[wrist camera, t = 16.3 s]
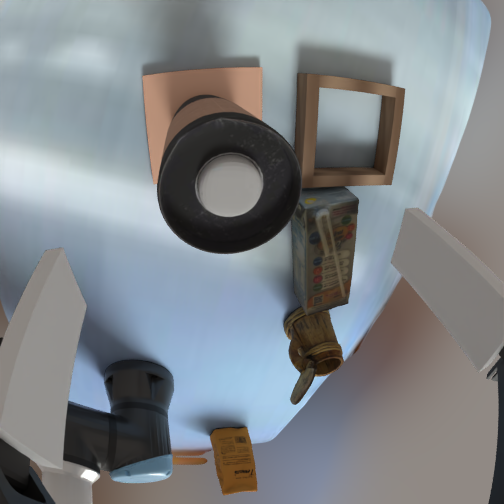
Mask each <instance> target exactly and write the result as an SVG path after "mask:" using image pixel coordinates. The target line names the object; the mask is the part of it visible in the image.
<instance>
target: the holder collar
mask: <svg viewBox="0 0 504 504" xmlns="http://www.w3.org/2000/svg"><path fill="white" fill-rule="evenodd" d="M319 87H322V88H333V89H342V90H351V91H358V92H365V93H372V94H378V95H382V105H381V115H380V124H379V133H378V141H377V148H376V155H375V162H374V168H363V167H345V168H314V162H315V150H316V136H317V120H318V102H319ZM404 96H405V89H404V88H400V87H395V86H390V85H385V84H380V83H375V82H369V81H363V80H357V79H350V78H343V77H335V76H326V75H317V74H304V73H298V74H297V107H296V131H295V154H296V156H297V158H298V161H299V164H300V167H301V173H302V188H314V187H334V186H363V185H392V180H393V174H394V169H395V163H396V157H397V151H398V145H399V138H400V131H401V123H402V115H403V106H404Z"/></svg>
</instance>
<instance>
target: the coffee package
mask: <svg viewBox="0 0 504 504" xmlns="http://www.w3.org/2000/svg"><path fill="white" fill-rule="evenodd" d="M210 440H211V444H212V447H213V450H214V458H215V465H216V471H217V476H218V479H219V482H220V485H221V488H222V493H223V495H228V494H233V493H238V492H242V491H243V492H244V491H257V479H256V472H255V462H254V457H253V451H252V444H251V440H250V437H249V433H248V429H247V427H244V428H238V429H236V428H231V427H229V428H222V429H215V430H214V431H213V433H212V434H211V436H210Z"/></svg>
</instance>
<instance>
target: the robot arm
mask: <svg viewBox="0 0 504 504" xmlns="http://www.w3.org/2000/svg"><path fill="white" fill-rule="evenodd" d="M391 264H392V265H393V266H394V267H395V268H396V269H397V270H398V271H399V273H400V274H401V275H402V276H403V277H404V278H405V279H406V280H407V281H408V283H409V284H410V285H411V286H412V287H413V289H415V291H416V292H417V293H418V295H419V296H420V297H421V298H422V299H423V300H424V302H425V303H426V304H427V305H428V307H429V308H430V309H431V310H432V311H433V313H434V314H435V315H436V316H437V318H438V319H439V320H440V321H441V323H442V324H443V325H444V326H445V328H446V329H447V330H448V332H449V333H450V334H451V336H452V337H453V338H454V340H455V341H456V342H457V343H458V345H459V346H460V348H461V349H462V350H463V352H464V353H465V354H466V356H467V357H468V359H469V360H470V361H471V363H472V364H473V366H474V367H475V369H476V370H477V371H478V372H480V371H482V370H483V369H484V368H486V367H487V366H489V365H490V364H491V362H492V361H493V360H494V358H495V357H496V356H497V355H498V354H499V355H500V356H501V358H500V359H499V360H498V361H497V363H496V364H495V365H494V366H493V367H492V369H491V370H490V371H489V372H488V374H487V379H489V378H490V377H491V376H492V375H493V374H494V373H495V372H497V373H496V374H495V375H494V376H493V377H492V380H494V381H498V393H499V394H498V395H499V418H498V419H499V420H498V440H497V452H496V462H495V470H494V477H493V483H492V489H491V494H490V499H489V504H504V283H503V281H501V279H500V278H498V276H497V275H495V273H493V272H492V271H491V270H490V269H489V268H488V267H487V266H486V265H485V264H484V263H483V262H482V261H481V260H480V259H479V258H478V257H476V256H475V255H474V254H473V253H472V252H471V251H470V250H469V249H468V248H467V247H465V246H464V245H463V244H462V243H461V242H460V241H458V240H457V239H456V238H455V237H454V236H453V235H451V234H450V233H449V232H448V231H447V230H445V229H444V228H443V227H442V226H441V225H439V224H438V223H437V222H436V221H434V220H433V219H432V218H431V217H429V216H428V215H427V214H425V213H424V212H423V211H422V210H420V209H419V208H408V209H405V213H404V217H403V221H402V225H401V228H400V232H399V236H398V239H397V243H396V246H395V250H394V253H393V257H392V260H391ZM86 308H87V305H86V302H85V300H84V298H83V296H82V294H81V291H80V289H79V287H78V284H77V282H76V280H75V277H74V275H73V272H72V270H71V267H70V265H69V262H68V260H67V257H66V254H65V252H64V249H63V248H57V249H51V250H46V251H45V252H44V254H43V256H42V258H41V260H40V261H39V263H38V265H37V267H36V269H35V271H34V272H33V274H32V276H31V278H30V280H29V282H28V284H27V286H26V288H25V290H24V292H23V294H22V296H21V299H20V301H19V303H18V305H17V307H16V309H15V312H14V314H13V316H12V319H11V321H10V323H9V326H8V328H7V331H6V333H5V336H4V338H0V504H93V503H92V484H93V483H94V482H95V481H96V480H97V479H99V478H100V470H104V471H109V472H110V476H111V478H112V479H113V480H115V481H119V482H125V483H146V482H154V481H160V480H163V479H166V478H168V477H169V476H170V475H171V473H172V457H173V455H172V452H171V444H170V435H169V425H168V409H169V405H170V402H171V399H172V395H173V392H174V380H173V376H172V375H171V373H170V372H169V371H167V370H166V369H165V368H163V367H161V366H159V365H157V364H154V363H150V362H146V361H139V360H125V361H120V362H116V363H114V364H112V365H110V366H109V367H108V368H107V369H106V371H105V378H104V384H105V388H106V392H107V395H108V399H109V402H110V406H111V414H110V413H107V412H103V411H100V410H96V409H93V408H90V407H86V406H83V405H80V404H77V403H74V402H71V401H68V398H69V391H70V385H71V378H72V372H73V367H74V361H75V356H76V351H77V346H78V342H79V337H80V333H81V328H82V324H83V320H84V316H85V312H86ZM30 459H31V460H33V461H35V462H36V464H37V465H38V466H39V467H40V469H41V471H42V482H41V480H40V479H39V477H38V475H37V474H36V472H35V471H34V470H33V468H32V467H31V466H29V465H30Z"/></svg>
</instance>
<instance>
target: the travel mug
mask: <svg viewBox="0 0 504 504" xmlns="http://www.w3.org/2000/svg"><path fill="white" fill-rule="evenodd" d="M301 191H302V173H301V167H300V164H299V161H298V158H297V156H296V154H295V152H294V150H293V149H292V147H291V146H290V144H289V143H288V142H287V141H286V140H285V138H284V137H283V136H281V135H280V134H279V133H278V132H277V131H276V130H274V129H273V128H271V127H270V126H268V125H267V124H266V123H264V122H263V121H261V120H260V119H258V118H257V117H255V116H254V115H252V114H251V113H249V112H248V111H246V110H245V109H243V108H242V107H240V106H239V105H237V104H235V103H234V102H231V101H229V100H226V99H224V98H221V97H218V96H214V95H198V96H195V97H192V98H190V99H188V100H187V101H185V102H184V103H183V104H182V105H181V106H180V107H179V108H178V110H177V111H176V113H175V115H174V117H173V119H172V121H171V123H170V126H169V128H168V131H167V135H166V140H165V145H164V149H163V154H162V159H161V165H160V170H159V175H158V183H157V196H158V203H159V207H160V210H161V213H162V215H163V218H164V219H165V221H166V223H167V225H168V226H169V227H170V229H171V230H172V231H173V232H174V233H175V234H176V235H177V236H178V237H179V238H180V239H181V240H183V241H184V242H185V243H187V244H189V245H191V246H192V247H195V248H197V249H199V250H202V251H206V252H210V253H217V254H233V253H240V252H244V251H248V250H251V249H254V248H256V247H258V246H260V245H262V244H264V243H266V242H268V241H269V240H271V239H272V238H274V237H275V236H276V235H277V234H278V233H279V232H280V231H281V230H282V229H283V228H284V227H285V226H286V225H287V224H288V222H289V221H290V220H291V218H292V216H293V215H294V213H295V211H296V209H297V206H298V204H299V200H300V197H301Z"/></svg>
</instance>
